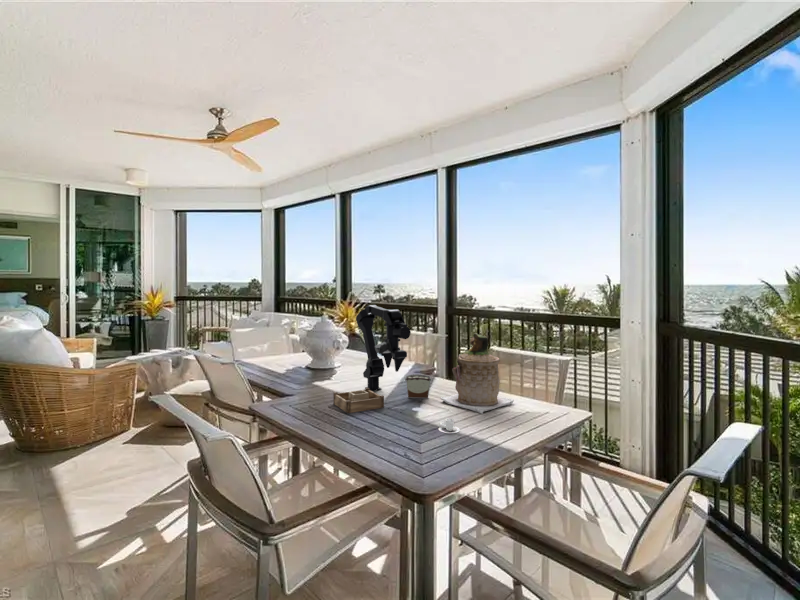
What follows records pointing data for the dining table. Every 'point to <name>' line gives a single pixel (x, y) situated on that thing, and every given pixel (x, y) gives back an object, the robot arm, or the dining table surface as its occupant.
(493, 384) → the cookie jar
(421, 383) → the food container
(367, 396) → the pale crate
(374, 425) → the dining table surface
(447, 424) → the teacup and saucer
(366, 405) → the crate
